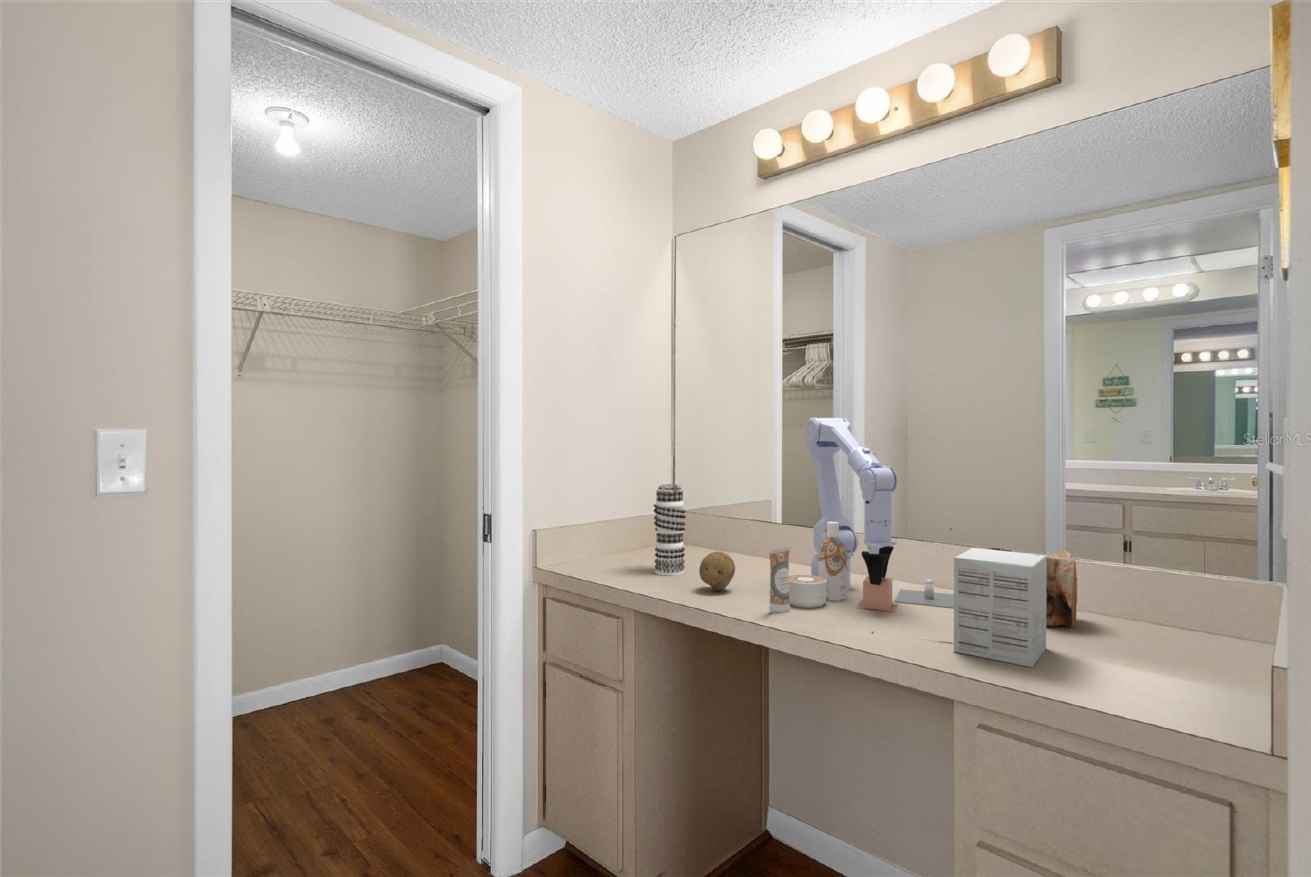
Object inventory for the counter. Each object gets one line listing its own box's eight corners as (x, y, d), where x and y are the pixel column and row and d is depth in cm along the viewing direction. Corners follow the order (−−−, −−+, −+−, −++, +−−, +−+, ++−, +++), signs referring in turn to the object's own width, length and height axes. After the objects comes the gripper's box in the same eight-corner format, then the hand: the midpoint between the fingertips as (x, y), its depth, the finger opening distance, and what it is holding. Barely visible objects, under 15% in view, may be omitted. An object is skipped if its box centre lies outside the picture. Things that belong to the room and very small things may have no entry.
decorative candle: (648, 570, 193) (648, 484, 192) (676, 567, 196) (676, 483, 196) (661, 577, 184) (661, 486, 184) (691, 573, 188) (691, 485, 188)
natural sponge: (722, 597, 162) (722, 556, 162) (692, 591, 167) (692, 552, 167) (741, 590, 169) (741, 550, 169) (711, 585, 174) (711, 547, 174)
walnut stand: (856, 612, 148) (856, 592, 148) (862, 603, 156) (862, 585, 156) (894, 616, 145) (894, 596, 145) (898, 607, 152) (898, 588, 152)
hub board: (894, 605, 154) (894, 581, 154) (900, 593, 166) (900, 571, 165) (961, 612, 148) (961, 588, 148) (962, 599, 159) (962, 576, 159)
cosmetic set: (784, 621, 142) (784, 533, 142) (753, 611, 149) (753, 528, 149) (857, 602, 157) (857, 523, 157) (825, 595, 164) (826, 519, 164)
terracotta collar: (863, 607, 149) (863, 581, 149) (866, 602, 154) (866, 576, 154) (889, 610, 146) (889, 583, 146) (892, 604, 152) (892, 578, 151)
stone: (1064, 635, 132) (1065, 559, 131) (1017, 624, 139) (1017, 552, 139) (1093, 622, 140) (1093, 551, 140) (1047, 613, 147) (1047, 545, 147)
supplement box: (971, 634, 132) (971, 546, 132) (1047, 648, 124) (1047, 554, 123) (951, 652, 122) (952, 556, 121) (1033, 668, 113) (1034, 566, 113)
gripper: (893, 525, 142) (893, 589, 142) (900, 517, 155) (900, 576, 155) (858, 523, 145) (858, 586, 145) (868, 516, 158) (868, 573, 158)
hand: (878, 580), depth 150 cm, fingers open, 7 cm apart
